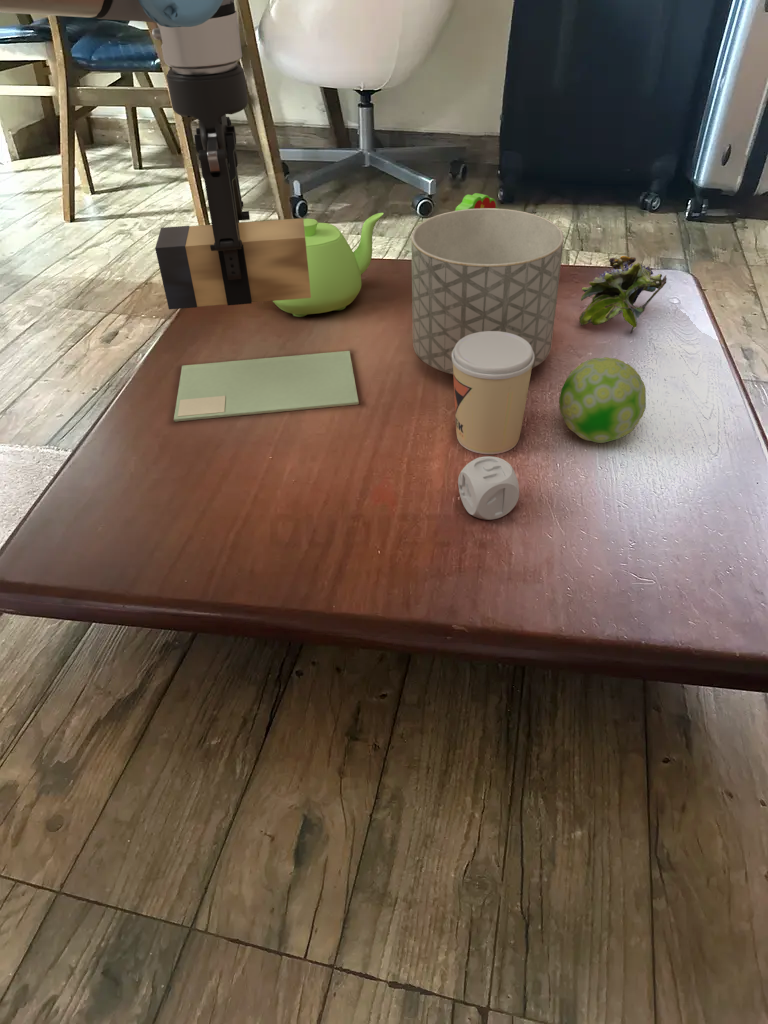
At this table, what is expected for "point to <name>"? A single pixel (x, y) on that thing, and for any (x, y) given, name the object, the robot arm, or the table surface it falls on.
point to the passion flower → (620, 292)
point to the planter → (483, 280)
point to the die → (488, 487)
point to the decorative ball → (602, 399)
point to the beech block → (268, 256)
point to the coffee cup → (490, 389)
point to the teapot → (332, 268)
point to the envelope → (265, 386)
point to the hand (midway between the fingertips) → (240, 290)
